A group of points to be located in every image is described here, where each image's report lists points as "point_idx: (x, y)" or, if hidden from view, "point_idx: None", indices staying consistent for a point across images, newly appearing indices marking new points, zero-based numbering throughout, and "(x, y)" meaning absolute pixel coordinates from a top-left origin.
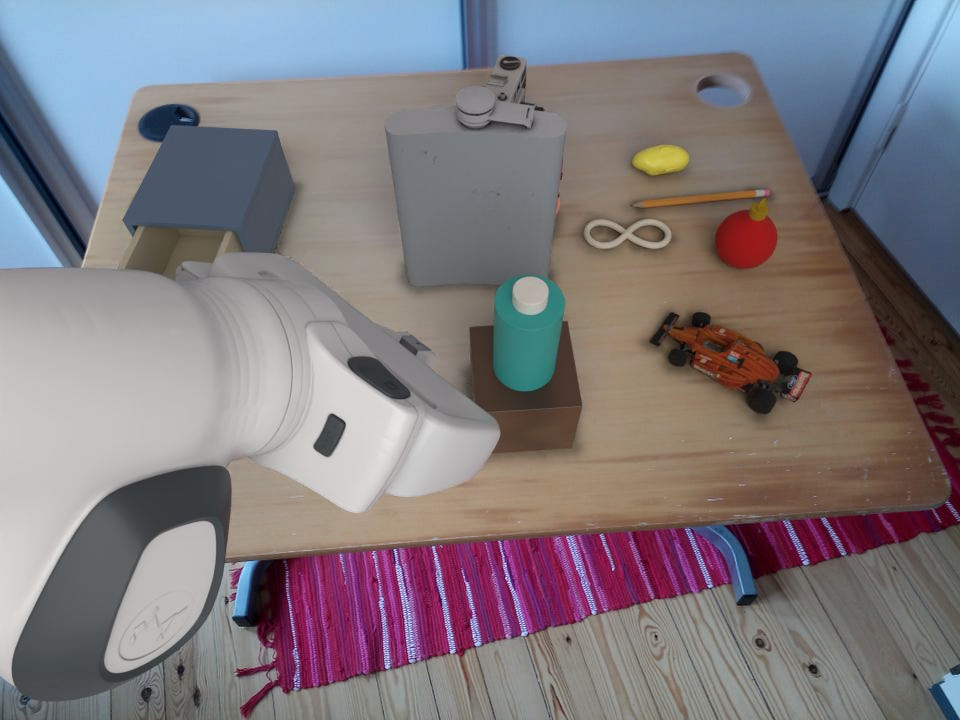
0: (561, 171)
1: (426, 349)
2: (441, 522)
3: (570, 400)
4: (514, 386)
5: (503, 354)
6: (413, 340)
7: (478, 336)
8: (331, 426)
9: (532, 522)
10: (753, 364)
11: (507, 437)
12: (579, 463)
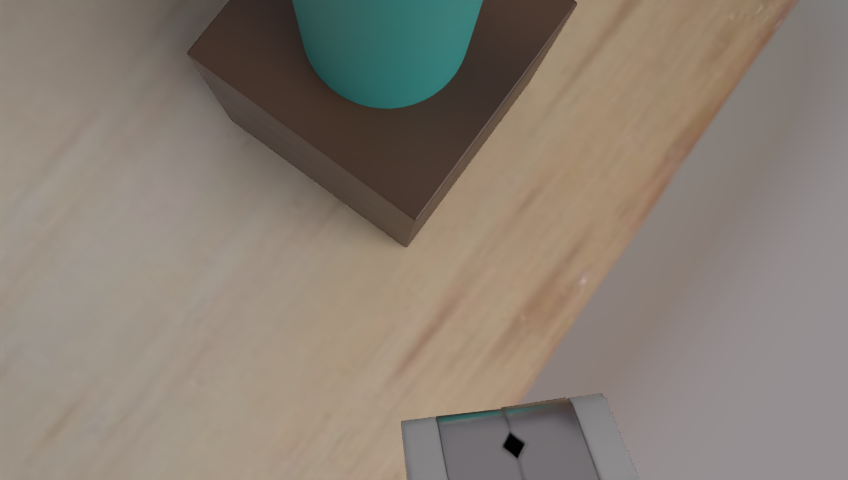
0: None
1: (568, 431)
2: (479, 410)
3: (546, 12)
4: (428, 93)
5: (394, 61)
6: (492, 456)
7: (230, 56)
8: None
9: (602, 260)
10: None
11: (453, 180)
12: (566, 92)
